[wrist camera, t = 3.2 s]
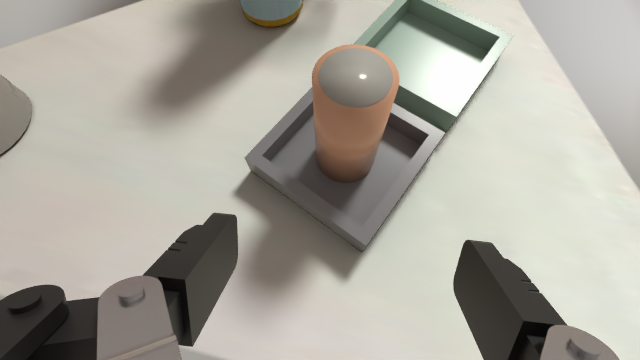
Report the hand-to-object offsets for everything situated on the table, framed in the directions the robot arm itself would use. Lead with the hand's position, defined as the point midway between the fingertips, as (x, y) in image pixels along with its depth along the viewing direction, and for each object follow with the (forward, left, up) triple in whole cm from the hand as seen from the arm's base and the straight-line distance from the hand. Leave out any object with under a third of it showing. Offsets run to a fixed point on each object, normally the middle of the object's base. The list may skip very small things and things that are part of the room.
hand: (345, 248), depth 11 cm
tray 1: (+9, +6, -14) cm, 18 cm away
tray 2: (+23, +6, -14) cm, 28 cm away
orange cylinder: (+9, +6, -14) cm, 17 cm away
